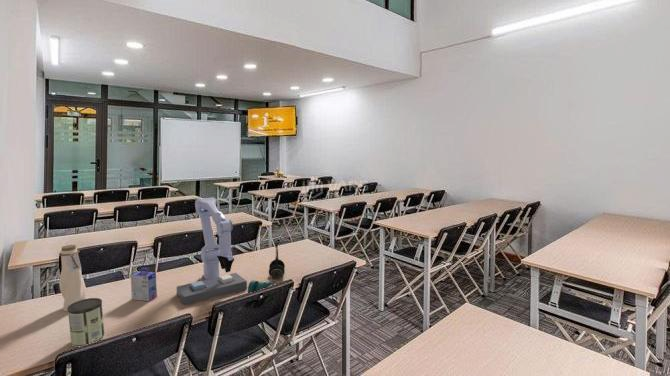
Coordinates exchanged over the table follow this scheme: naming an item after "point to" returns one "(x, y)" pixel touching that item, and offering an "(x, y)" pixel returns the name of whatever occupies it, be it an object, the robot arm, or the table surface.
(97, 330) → the coffee can
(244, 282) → the key panel
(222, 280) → the white key
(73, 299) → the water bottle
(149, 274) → the ink cartridge box
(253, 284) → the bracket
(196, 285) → the slate blue key
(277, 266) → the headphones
